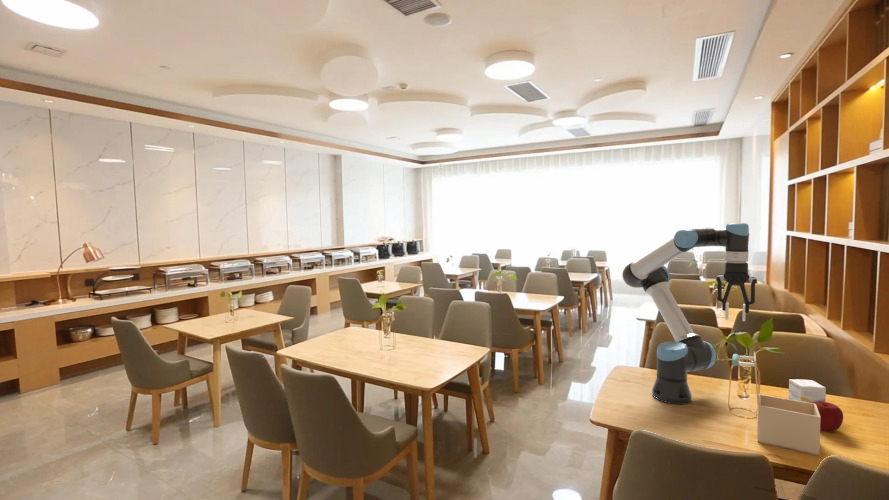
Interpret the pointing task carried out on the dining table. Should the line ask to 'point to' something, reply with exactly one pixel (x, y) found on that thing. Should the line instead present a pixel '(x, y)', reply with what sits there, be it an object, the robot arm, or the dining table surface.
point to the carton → (788, 424)
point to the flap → (736, 362)
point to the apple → (829, 416)
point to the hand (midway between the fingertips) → (735, 319)
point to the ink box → (806, 391)
